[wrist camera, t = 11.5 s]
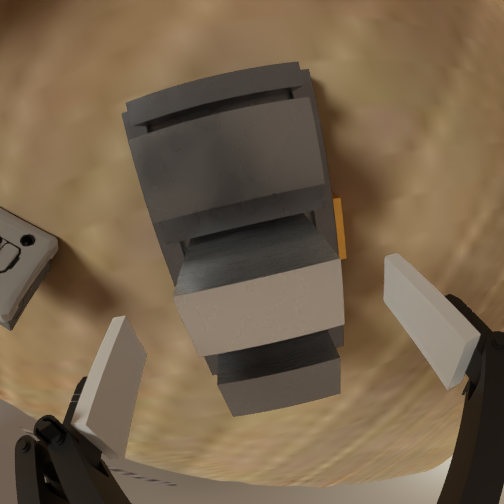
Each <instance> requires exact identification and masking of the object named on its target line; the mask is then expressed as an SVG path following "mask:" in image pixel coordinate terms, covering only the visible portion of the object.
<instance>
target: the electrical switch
mask: <svg viewBox="0 0 504 504" xmlns="http://www.w3.org/2000/svg"><path fill="white" fill-rule="evenodd" d="M57 251H58V240H57V239H56V237H54V236H52V235H50V234H48V233H46V232H44V231H42V230H40V229H39V228H37V227H35V226H33V225H31V224H29V223H27V222H25V221H23V220H21V219H20V218H18V217H16V216H14V215H12V214H10V213H9V212H7V211H5V210H3V209H1V208H0V324H1V325H2V326H4V327H5V328H7V329H8V330H10V331H11V329H12V330H13V328H14V326H15V324H16V322H17V321H18V319H19V317H20V316H21V314H22V312H23V311H24V309H25V307H26V306H27V304H28V302H29V301H30V299H31V298H32V296H33V295H34V293H35V291H36V290H37V288H38V287H39V285H40V284H41V282H42V281H43V279H44V278H45V276H46V275H47V274H48V272H49V271H50V259H52V258H53V257H54V255H55V254H56V253H57ZM34 280H35V281H34ZM29 287H30V288H29ZM28 289H29V290H28ZM10 327H11V328H10Z"/></svg>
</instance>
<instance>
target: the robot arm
mask: <svg viewBox="0 0 504 504" xmlns="http://www.w3.org/2000/svg"><path fill="white" fill-rule="evenodd" d="M383 301H384V303H385V304H386V305H387V306H388V308H389V309H390V310H391V312H392V313H393V314H394V316H395V317H396V318H397V320H398V321H399V322H400V324H401V325H402V326H403V328H404V329H405V330H406V332H407V333H408V334H409V336H410V337H411V339H412V340H413V341H414V343H415V344H416V345H417V347H418V348H419V350H420V351H421V353H422V354H423V355H424V357H425V358H426V360H427V361H428V363H429V364H430V365H431V367H432V368H433V370H434V371H435V373H436V374H437V376H438V377H439V379H440V380H441V382H442V383H443V385H444V386H445V388H446V389H447V390H448V389H450V388H452V387H454V386H456V385H458V384H459V383H461V382H462V380H463V377H464V375H465V373H466V375H467V376H468V377H469V380H468V382H467V384H466V386H465V388H464V390H463V393H462V395H464V394H465V392H466V397H465V403H464V409H463V414H462V419H461V424H460V429H459V433H458V438H457V442H456V446H455V449H454V453H453V457H452V460H451V464H450V467H449V471H448V474H447V477H446V480H445V483H444V485H443V488H442V491H441V494H440V496H439V499H438V502H437V504H499V500H500V496H501V493H502V488H503V484H504V332H500V331H494V332H492V331H491V330H490V329H489V328H488V327H487V325H486V324H485V323H484V322H483V321H482V320H481V319H480V318H479V317H478V316H477V315H476V314H475V313H474V312H472V310H471V309H470V308H469V307H467V305H466V304H465V303H464V302H463V301H462V300H461V299H459V298H457V297H455V296H453V295H451V294H448V295H446V296H443V295H442V294H441V293H440V292H439V291H438V290H437V289H436V288H435V287H434V286H433V285H432V284H431V283H430V282H429V281H428V280H427V279H426V278H425V277H424V276H423V275H421V274H420V273H419V272H418V271H417V270H416V269H415V268H414V267H413V266H412V265H411V264H410V263H408V262H407V261H406V260H405V259H404V258H403V257H402V256H401V255H399V254H398V253H394V254H391V255H387V256H385V264H384V296H383ZM146 357H147V353H146V352H145V350H144V348H143V346H142V345H141V343H140V341H139V339H138V337H137V336H136V334H135V332H134V330H133V328H132V327H131V325H130V323H129V321H128V319H127V317H126V315H125V316H120V317H114V318H113V319H112V321H111V324H110V326H109V328H108V330H107V332H106V335H105V337H104V339H103V341H102V344H101V346H100V348H99V351H98V353H97V355H96V358H95V360H94V363H93V365H92V367H91V370H90V372H89V375H88V376H87V377H83V378H82V380H81V381H80V382H79V383H78V385H77V387H76V390H75V392H74V395H73V397H72V400H71V401H72V402H70V405H69V408H68V410H67V413H66V416H65V419H64V421H63V424H61V423H60V422H59V421H58V420H57V419H56V418H55V417H54V416H52V415H45V416H43V417H41V418H40V419H39V420H38V421H37V423H36V424H35V427H34V435H35V436H36V437H37V438H38V439H40V440H41V441H36V440H35V439H34V438H32V437H31V436H29V435H25V436H22V437H21V438H20V439H19V440H18V441H17V443H16V446H15V475H16V489H17V499H18V504H131V503H130V501H129V500H128V498H127V497H126V496H125V494H124V493H123V491H122V490H121V488H120V486H119V485H118V483H117V482H116V480H115V479H114V477H113V475H112V474H111V472H110V470H109V469H108V467H107V465H106V464H105V462H104V461H103V460H102V459H101V454H102V453H103V454H105V455H106V456H107V457H108V458H111V459H122V460H124V459H125V453H126V448H127V442H128V437H129V432H130V427H131V422H132V417H133V412H134V407H135V403H136V398H137V394H138V390H139V385H140V381H141V377H142V373H143V369H144V365H145V361H146ZM44 477H46V479H47V483H45V479H44Z"/></svg>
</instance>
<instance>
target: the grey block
mask: <svg viewBox="0 0 504 504" xmlns="http://www.w3.org/2000/svg"><path fill="white" fill-rule="evenodd" d="M173 299H174V301H175V304H176V306H177V309H178V311H179V313H180V316H181V318H182V320H183V323H184V325H185V327H186V330H187V332H188V334H189V336H190V339H191V341H192V343H193V345H194V347H195V350H196V352H197V354H198V356H199V357H203V356H208V355H214V354H220V353H225V352H231V351H236V350H241V349H246V348H251V347H255V346H260V345H265V344H269V343H274V342H278V341H282V340H287V339H291V338H295V337H299V336H303V335H307V334H311V333H315V332H318V331H322V330H326V329H329V328H333V327H337V326H340V325H344V324H345V318H344V299H343V283H342V270H341V258H340V257H339V256H338V255H337V253H336V252H335V251H334V250H333V248H332V247H331V246H330V245H329V243H328V242H327V241H326V240H325V238H324V237H323V236H322V235H321V234H320V232H319V231H318V230H317V229H316V228H315V226H314V225H313V224H312V223H311V222H310V220H309V219H308V218H307V217H306V216H305V214H304V213H300V214H295V215H291V216H286V217H282V218H277V219H273V220H268V221H264V222H259V223H255V224H251V225H246V226H242V227H237V228H233V229H229V230H225V231H220V232H216V233H212V234H208V235H204V236H199V237H195V238H191V239H190V242H189V245H188V248H187V251H186V254H185V258H184V261H183V264H182V267H181V271H180V274H179V277H178V280H177V284H176V287H175V291H174V294H173Z"/></svg>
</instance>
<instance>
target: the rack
mask: <svg viewBox="0 0 504 504" xmlns="http://www.w3.org/2000/svg"><path fill="white" fill-rule="evenodd" d="M126 106H127V112H125V113H122V118H123V122H124V126H125V130H126V134H127V138H128V142H129V146H130V149H131V153H132V157H133V161H134V164H135V168H136V171H137V175H138V178H139V182H140V185H141V188H142V192H143V195H144V198H145V201H146V205H147V208H148V211H149V214H150V217H151V220H152V223H153V226H154V229H155V232H156V235H157V238H158V241H159V244H160V247H161V250H162V253H163V255H164V258H165V261H166V264H167V266H168V269H169V272H170V275H171V277H172V280H173V282H174V285H175V287H176V284H177V280H178V277H179V274H180V271H181V267H182V264H183V261H184V258H185V254H186V251H187V248H188V245H189V242H190V239H191V238H195V237H199V236H204V235H208V234H212V233H216V232H220V231H225V230H229V229H233V228H237V227H242V226H246V225H251V224H255V223H259V222H264V221H268V220H273V219H277V218H282V217H286V216H291V215H295V214H300V213H304V214H305V216H306V217H307V218H308V219H309V220H310V222H311V223H312V224H313V225H314V226H315V228H316V229H317V230H318V231H319V232H320V234H321V235H322V236H323V237H324V238H325V240H326V241H327V242H328V243H329V245H330V246H331V247H332V248H333V250H334V251H335V252H336V253H337V255H338V256H339V257H340V258H341V260H342V259H346V247H345V235H344V225H343V215H342V206H341V198H340V197H339V196H337V195H336V194H334V193H333V194H332V192H331V184H330V177H329V171H328V164H327V158H326V152H325V146H324V140H323V135H322V129H321V124H320V119H319V114H318V109H317V104H316V99H315V94H314V90H313V85H312V81H311V77H310V72H309V69H306V70H300V67H299V62H291V63H282V64H275V65H268V66H262V67H256V68H250V69H244V70H239V71H234V72H229V73H225V74H220V75H216V76H211V77H207V78H203V79H199V80H195V81H192V82H188V83H184V84H181V85H178V86H174V87H171V88H168V89H164V90H161V91H158V92H155V93H152V94H149V95H146V96H143V97H140V98H138V99H135V100H132V101H130V102H127V103H126ZM341 346H344V339H343V325H340V326H337V327H333V328H329V329H326V330H322V331H318V332H315V333H311V334H307V335H303V336H299V337H295V338H291V339H287V340H282V341H278V342H274V343H269V344H265V345H260V346H255V347H251V348H246V349H241V350H236V351H231V352H225V353H220V354H214V355H208V356H204V357H205V360H206V362H207V364H208V366H209V368H210V371H211V373H212V375H215V374H218V381H217V385H218V387H219V389H220V391H221V393H222V395H223V397H224V399H225V401H226V403H227V405H228V407H229V409H230V411H231V413H232V415H233V417H235V416H242V415H248V414H254V413H260V412H265V411H270V410H275V409H280V408H285V407H289V406H294V405H298V404H302V403H306V402H310V401H314V400H318V399H322V398H326V397H329V396H333V395H336V394H340V356H339V354H338V352H337V350H336V348H338V347H341Z"/></svg>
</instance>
